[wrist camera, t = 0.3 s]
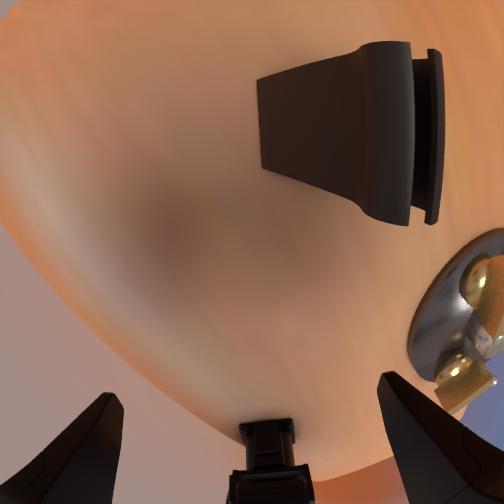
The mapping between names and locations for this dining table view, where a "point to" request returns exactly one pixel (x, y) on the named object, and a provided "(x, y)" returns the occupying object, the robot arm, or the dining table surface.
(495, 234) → the levelling base
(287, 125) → the phone stand
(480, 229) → the dining table surface
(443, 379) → the wing knob
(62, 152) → the dining table surface
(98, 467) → the robot arm
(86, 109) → the dining table surface
